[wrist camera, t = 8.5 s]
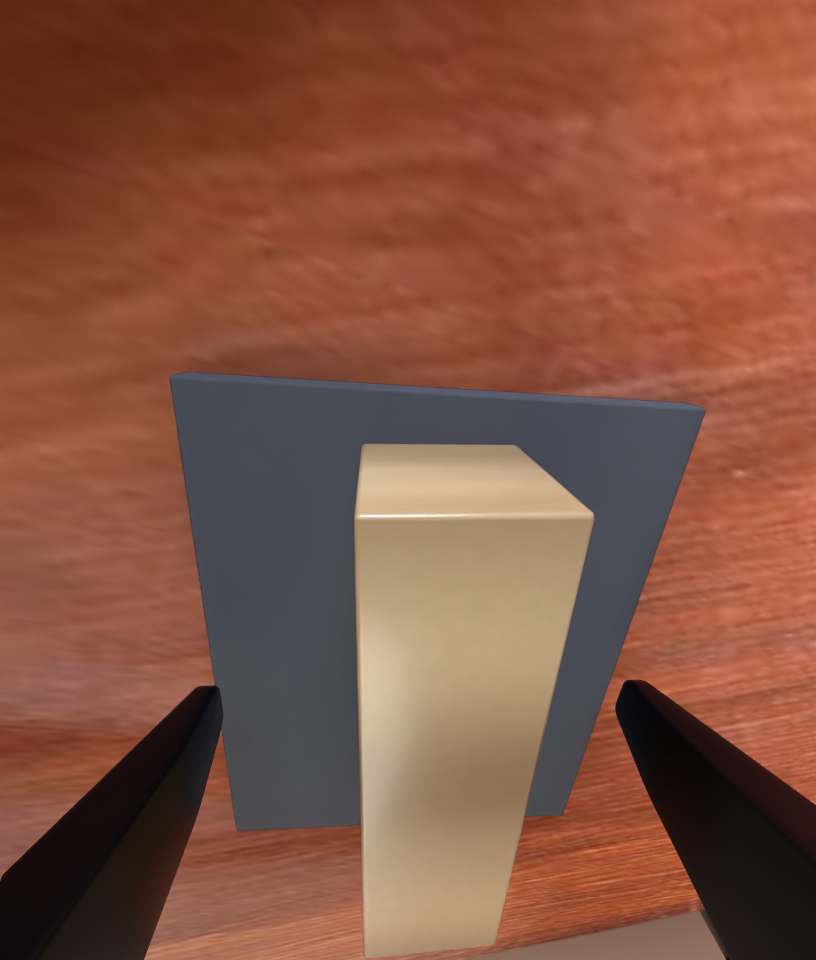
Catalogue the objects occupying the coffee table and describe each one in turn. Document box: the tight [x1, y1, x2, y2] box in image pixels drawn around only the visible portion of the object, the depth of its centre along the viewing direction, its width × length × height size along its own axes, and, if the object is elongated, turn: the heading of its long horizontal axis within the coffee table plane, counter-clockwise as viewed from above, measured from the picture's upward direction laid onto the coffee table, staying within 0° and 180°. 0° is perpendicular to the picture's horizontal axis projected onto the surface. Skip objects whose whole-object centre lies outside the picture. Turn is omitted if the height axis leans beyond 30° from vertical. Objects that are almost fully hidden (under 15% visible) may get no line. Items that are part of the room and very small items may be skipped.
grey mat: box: [170, 372, 706, 831], centre depth 10 cm, size 13×10×1 cm
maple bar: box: [354, 444, 594, 958], centre depth 8 cm, size 11×3×3 cm, turn 178°
